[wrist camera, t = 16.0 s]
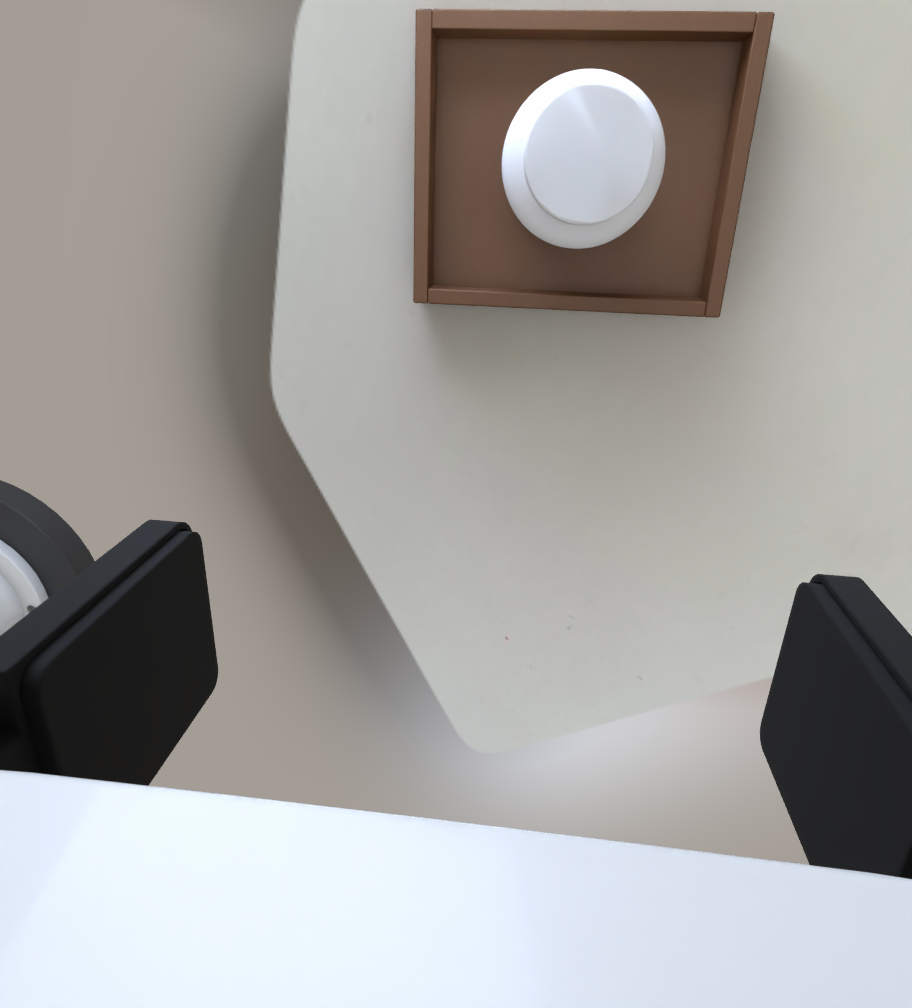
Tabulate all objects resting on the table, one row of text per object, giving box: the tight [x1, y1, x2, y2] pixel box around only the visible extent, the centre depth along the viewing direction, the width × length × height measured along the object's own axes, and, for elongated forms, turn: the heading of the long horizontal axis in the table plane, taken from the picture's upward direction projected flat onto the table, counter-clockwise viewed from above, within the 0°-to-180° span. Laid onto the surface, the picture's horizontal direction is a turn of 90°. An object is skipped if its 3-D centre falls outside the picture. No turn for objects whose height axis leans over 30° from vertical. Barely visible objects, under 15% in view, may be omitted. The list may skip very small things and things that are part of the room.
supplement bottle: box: [502, 69, 665, 249], centre depth 31 cm, size 7×7×13 cm
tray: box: [413, 9, 774, 318], centre depth 36 cm, size 17×14×3 cm
